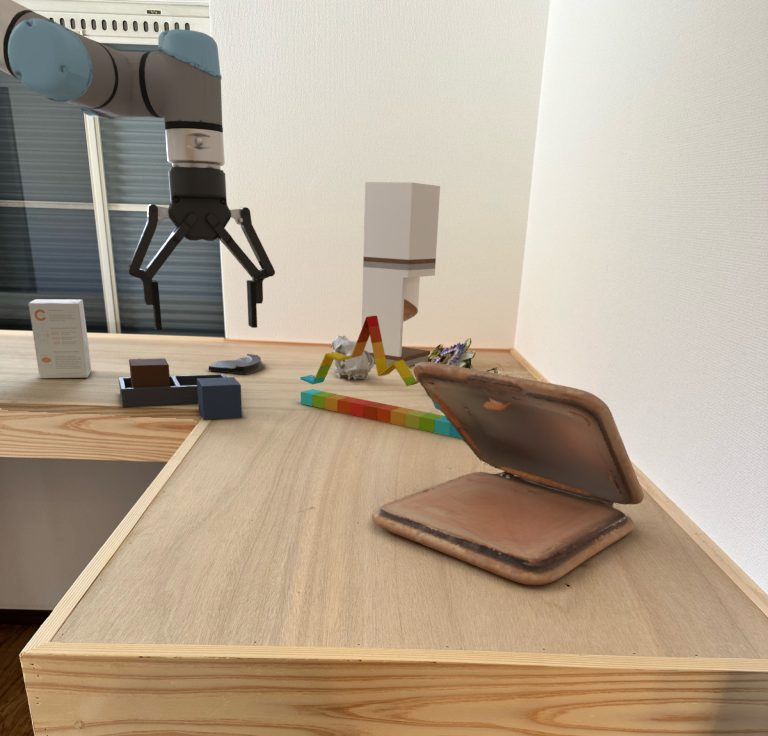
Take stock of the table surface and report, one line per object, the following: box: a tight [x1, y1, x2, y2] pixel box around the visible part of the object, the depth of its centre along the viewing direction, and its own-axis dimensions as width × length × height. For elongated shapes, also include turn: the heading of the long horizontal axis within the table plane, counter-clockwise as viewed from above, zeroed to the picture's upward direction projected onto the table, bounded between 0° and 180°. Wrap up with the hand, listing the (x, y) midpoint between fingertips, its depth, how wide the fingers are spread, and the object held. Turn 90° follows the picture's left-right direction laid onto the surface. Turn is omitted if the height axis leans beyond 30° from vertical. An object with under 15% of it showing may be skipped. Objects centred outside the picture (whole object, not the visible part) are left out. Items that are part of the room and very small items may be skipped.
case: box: [371, 361, 645, 586], centre depth 70 cm, size 20×21×16 cm
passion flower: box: [427, 337, 499, 374], centre depth 126 cm, size 11×11×12 cm
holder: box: [118, 373, 228, 408], centre depth 118 cm, size 17×9×3 cm, turn 111°
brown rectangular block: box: [128, 357, 171, 388], centre depth 116 cm, size 6×6×5 cm
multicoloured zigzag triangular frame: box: [300, 316, 463, 440], centre depth 109 cm, size 30×3×15 cm, turn 55°
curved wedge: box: [208, 353, 262, 375], centre depth 144 cm, size 8×14×2 cm, turn 162°
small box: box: [27, 298, 92, 379], centre depth 129 cm, size 8×6×13 cm
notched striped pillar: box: [361, 181, 441, 367], centre depth 151 cm, size 11×11×35 cm
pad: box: [197, 376, 243, 421], centre depth 109 cm, size 6×6×5 cm
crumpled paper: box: [330, 335, 375, 381], centre depth 139 cm, size 8×9×12 cm
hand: (206, 327), depth 106 cm, fingers open, 13 cm apart
